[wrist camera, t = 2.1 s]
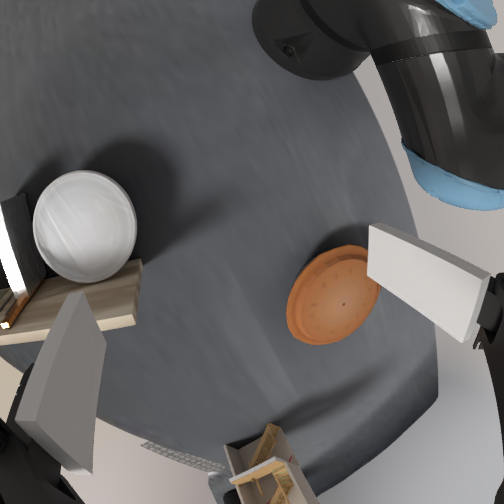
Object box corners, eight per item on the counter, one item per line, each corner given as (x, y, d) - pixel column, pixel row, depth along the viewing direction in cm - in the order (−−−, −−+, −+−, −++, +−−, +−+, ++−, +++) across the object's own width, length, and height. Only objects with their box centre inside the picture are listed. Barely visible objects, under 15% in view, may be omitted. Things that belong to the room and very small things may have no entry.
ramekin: (38, 238, 26) (20, 254, 21) (74, 150, 24) (57, 150, 20) (116, 279, 31) (109, 301, 26) (158, 195, 29) (156, 204, 24)
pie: (292, 229, 35) (311, 241, 31) (378, 244, 41) (400, 255, 36) (264, 333, 40) (277, 354, 35) (347, 330, 45) (363, 346, 40)
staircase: (280, 425, 50) (333, 522, 28) (237, 449, 50) (276, 545, 27) (260, 413, 47) (315, 525, 24) (214, 440, 46) (252, 548, 24)
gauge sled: (12, 197, 23) (-41, 220, 13) (25, 192, 23) (-28, 214, 13) (36, 279, 27) (-1, 328, 17) (48, 276, 27) (13, 326, 17)
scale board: (-19, 293, 24) (-59, 341, 14) (140, 257, 30) (131, 312, 20) (-15, 300, 25) (-54, 349, 14) (142, 266, 31) (135, 324, 20)
